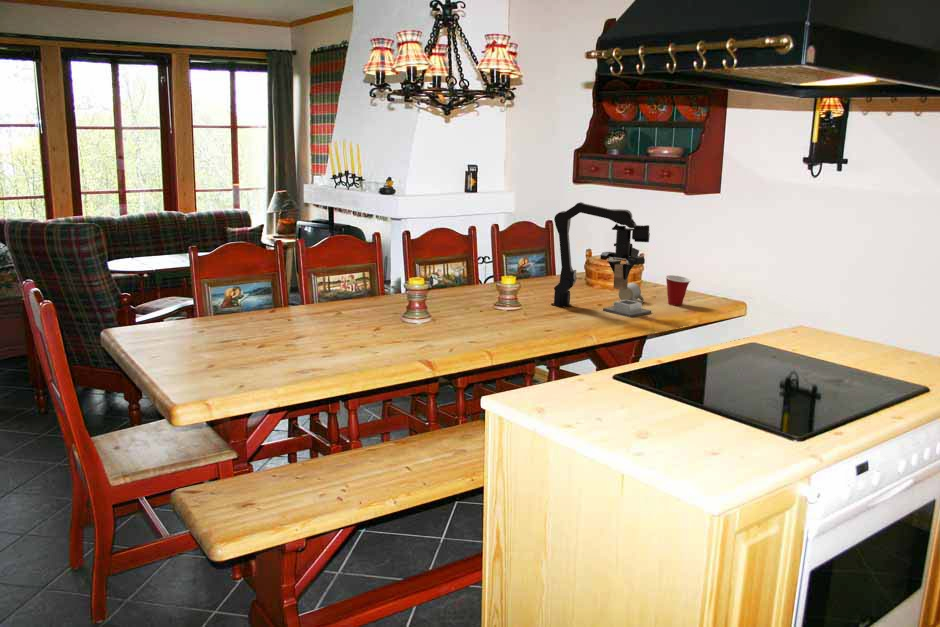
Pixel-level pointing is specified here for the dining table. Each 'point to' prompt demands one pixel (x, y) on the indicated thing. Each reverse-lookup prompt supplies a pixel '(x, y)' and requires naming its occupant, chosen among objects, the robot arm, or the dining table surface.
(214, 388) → the dining table surface
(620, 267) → the walnut post
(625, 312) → the metal square socket base
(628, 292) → the ceramic mug
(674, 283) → the plastic cup
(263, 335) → the dining table surface
